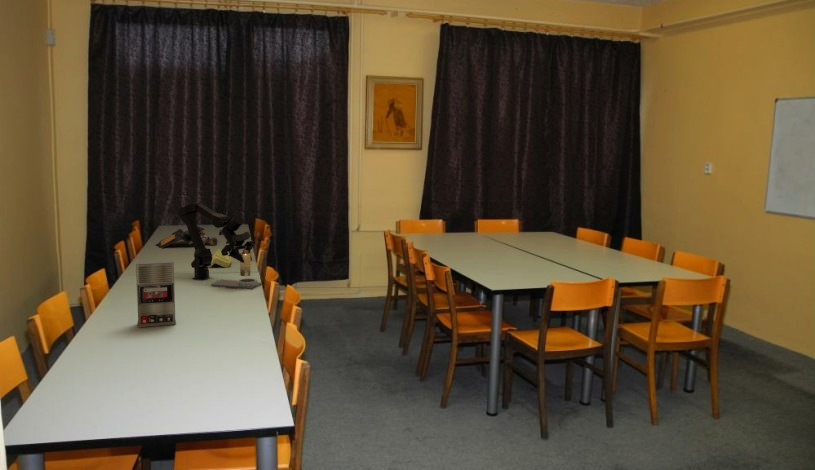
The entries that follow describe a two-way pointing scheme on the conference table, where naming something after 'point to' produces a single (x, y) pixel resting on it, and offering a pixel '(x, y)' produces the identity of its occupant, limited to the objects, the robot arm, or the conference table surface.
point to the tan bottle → (245, 264)
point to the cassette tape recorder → (155, 293)
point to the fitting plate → (231, 283)
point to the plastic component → (220, 259)
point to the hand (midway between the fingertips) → (247, 261)
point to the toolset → (185, 238)
